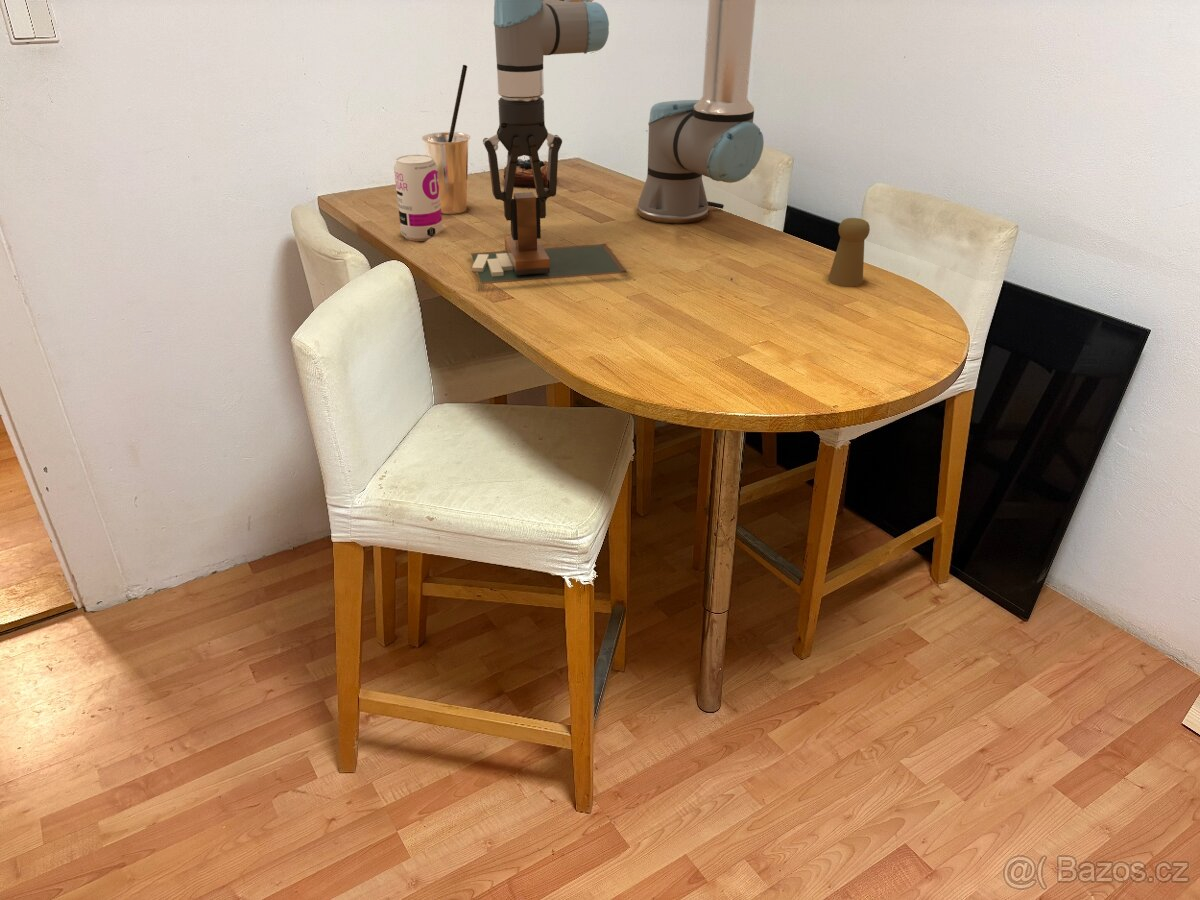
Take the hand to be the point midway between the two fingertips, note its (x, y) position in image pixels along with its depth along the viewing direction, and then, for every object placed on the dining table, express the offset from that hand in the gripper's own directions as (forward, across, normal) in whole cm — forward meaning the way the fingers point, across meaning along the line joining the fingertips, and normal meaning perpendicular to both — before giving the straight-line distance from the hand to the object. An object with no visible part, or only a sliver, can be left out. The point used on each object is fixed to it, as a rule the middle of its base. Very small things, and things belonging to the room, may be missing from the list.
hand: (525, 236), depth 154 cm
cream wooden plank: (+5, +6, +2) cm, 8 cm away
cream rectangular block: (+5, +8, -1) cm, 10 cm away
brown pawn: (+6, -55, +17) cm, 58 cm away
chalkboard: (+6, -4, 0) cm, 7 cm away
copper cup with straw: (+6, +9, -40) cm, 42 cm away
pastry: (+6, -11, -60) cm, 61 cm away
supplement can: (+6, +17, -24) cm, 30 cm away
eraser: (+5, 0, 0) cm, 5 cm away
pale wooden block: (+5, +4, -1) cm, 7 cm away
